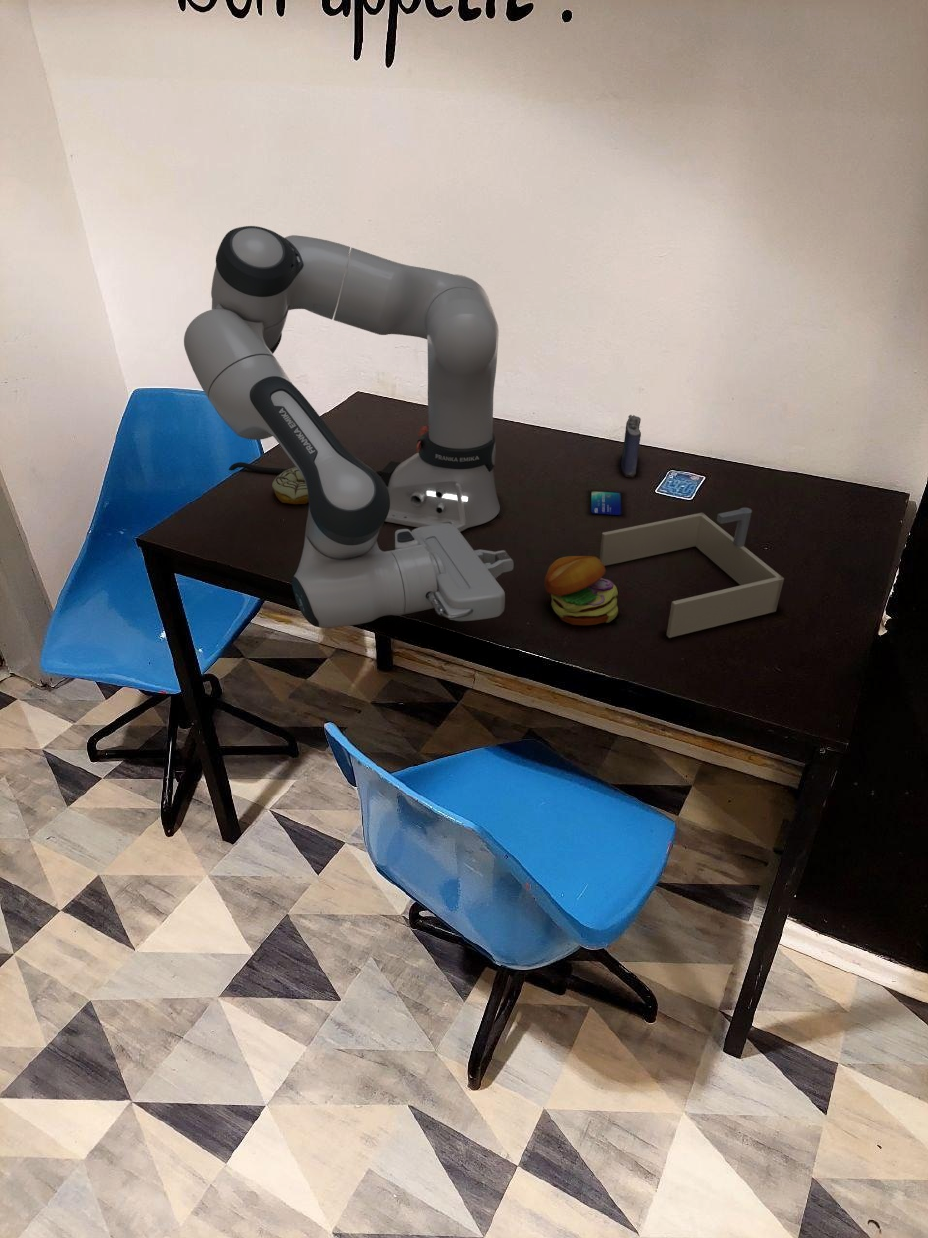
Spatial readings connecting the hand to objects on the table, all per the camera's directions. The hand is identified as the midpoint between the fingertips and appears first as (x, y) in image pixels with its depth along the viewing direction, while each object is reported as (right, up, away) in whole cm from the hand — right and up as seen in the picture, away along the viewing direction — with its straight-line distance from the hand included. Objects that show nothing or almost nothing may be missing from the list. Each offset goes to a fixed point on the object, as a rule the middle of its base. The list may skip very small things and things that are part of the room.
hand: (509, 560), depth 124 cm
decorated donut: (-36, +15, +41) cm, 57 cm away
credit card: (+20, +13, +38) cm, 45 cm away
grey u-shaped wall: (+28, -3, +16) cm, 32 cm away
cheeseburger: (+11, -7, +11) cm, 17 cm away
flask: (+26, +22, +51) cm, 61 cm away
